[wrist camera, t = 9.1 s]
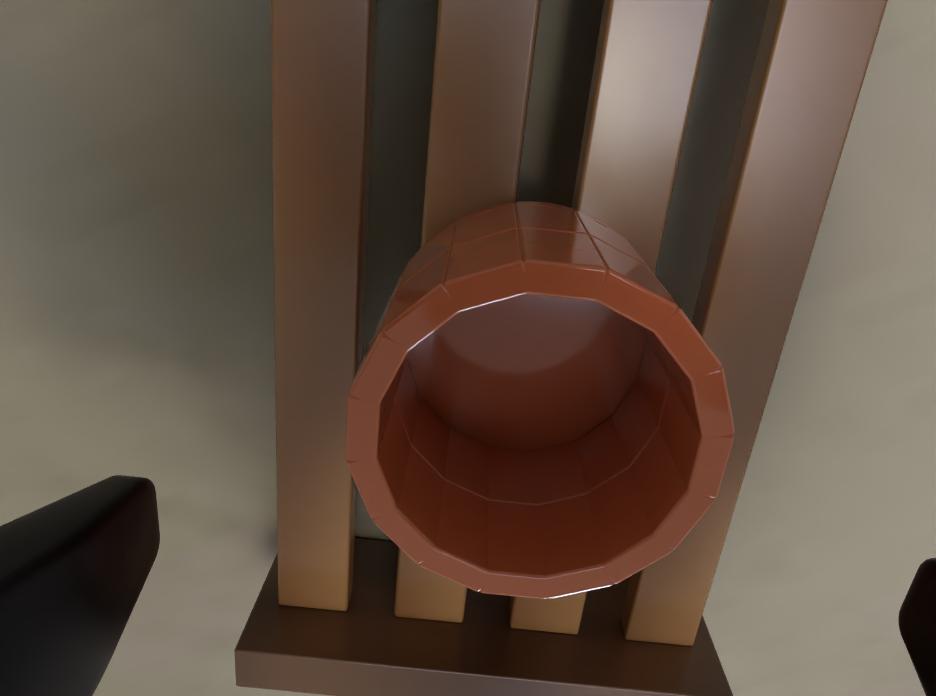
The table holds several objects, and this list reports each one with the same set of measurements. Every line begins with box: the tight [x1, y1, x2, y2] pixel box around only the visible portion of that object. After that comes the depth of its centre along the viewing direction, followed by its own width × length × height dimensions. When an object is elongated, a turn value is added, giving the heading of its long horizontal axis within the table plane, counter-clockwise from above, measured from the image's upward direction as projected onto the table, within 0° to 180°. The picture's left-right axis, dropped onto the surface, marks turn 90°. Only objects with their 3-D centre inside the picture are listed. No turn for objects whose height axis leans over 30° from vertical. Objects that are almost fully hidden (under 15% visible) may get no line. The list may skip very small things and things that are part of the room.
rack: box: [235, 0, 888, 696], centre depth 15 cm, size 12×18×4 cm, turn 174°
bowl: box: [345, 201, 735, 599], centre depth 12 cm, size 6×6×4 cm
